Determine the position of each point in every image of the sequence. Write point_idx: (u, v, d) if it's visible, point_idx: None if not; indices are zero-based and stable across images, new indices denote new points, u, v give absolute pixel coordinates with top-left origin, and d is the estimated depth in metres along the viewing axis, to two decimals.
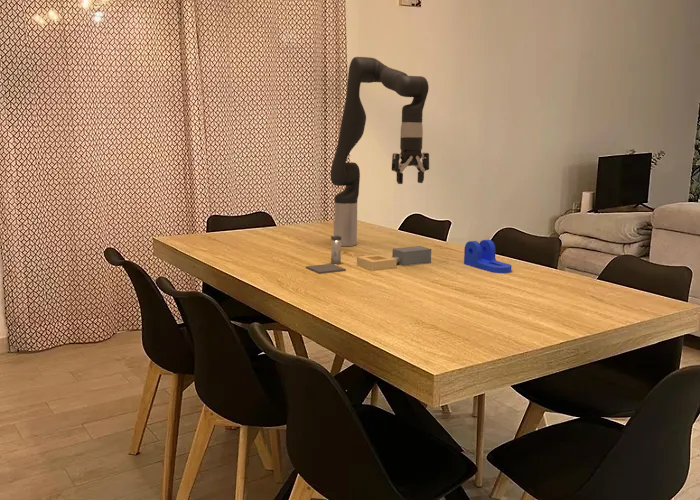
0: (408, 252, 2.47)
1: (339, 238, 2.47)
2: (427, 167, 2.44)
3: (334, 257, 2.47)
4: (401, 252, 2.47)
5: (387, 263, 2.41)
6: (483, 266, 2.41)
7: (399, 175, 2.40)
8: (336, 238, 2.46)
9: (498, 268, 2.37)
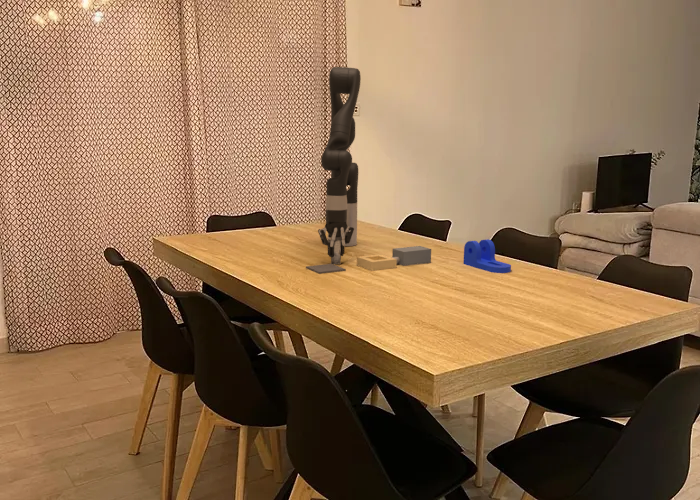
0: (408, 252, 2.47)
1: (339, 238, 2.47)
2: (347, 240, 2.49)
3: (334, 257, 2.47)
4: (401, 252, 2.47)
5: (387, 263, 2.41)
6: (483, 266, 2.41)
7: (330, 249, 2.46)
8: (336, 238, 2.46)
9: (497, 268, 2.37)
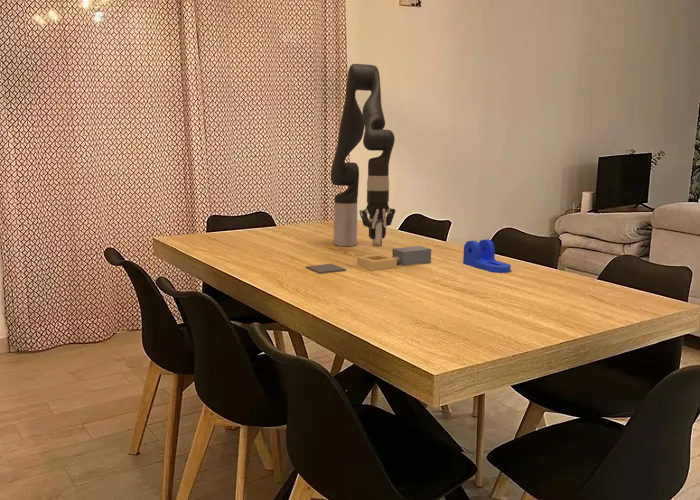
0: (408, 252, 2.47)
1: (381, 220, 2.41)
2: (389, 222, 2.43)
3: (375, 240, 2.41)
4: (401, 252, 2.47)
5: (387, 263, 2.41)
6: (483, 266, 2.42)
7: (371, 230, 2.40)
8: (378, 220, 2.40)
9: (497, 268, 2.37)
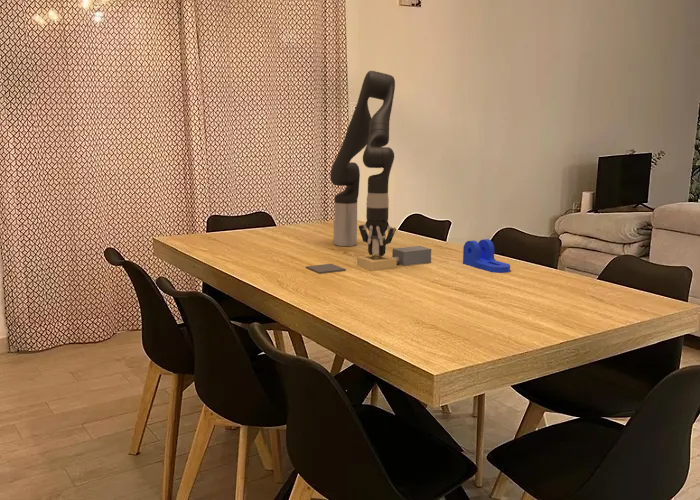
0: (408, 252, 2.47)
1: (376, 237, 2.41)
2: (385, 241, 2.40)
3: None
4: (401, 252, 2.47)
5: (387, 263, 2.41)
6: (482, 266, 2.42)
7: (368, 246, 2.44)
8: (373, 236, 2.42)
9: (497, 268, 2.37)
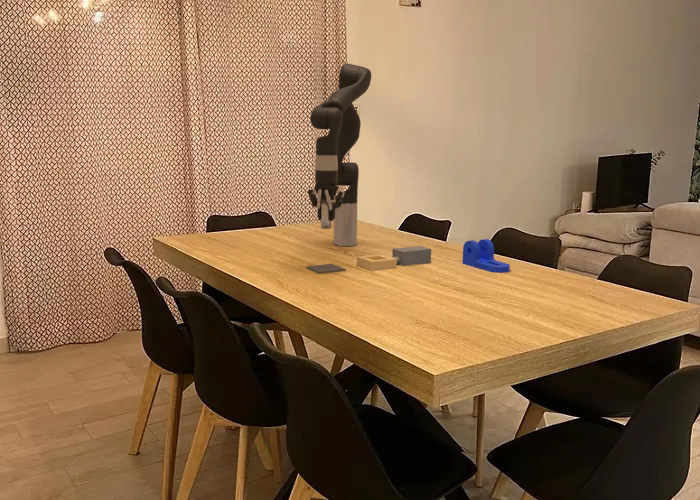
0: (408, 252, 2.47)
1: (325, 201, 2.33)
2: (334, 205, 2.32)
3: (321, 221, 2.36)
4: (401, 252, 2.47)
5: (387, 263, 2.41)
6: (482, 266, 2.42)
7: (318, 211, 2.36)
8: (322, 200, 2.34)
9: (496, 267, 2.37)
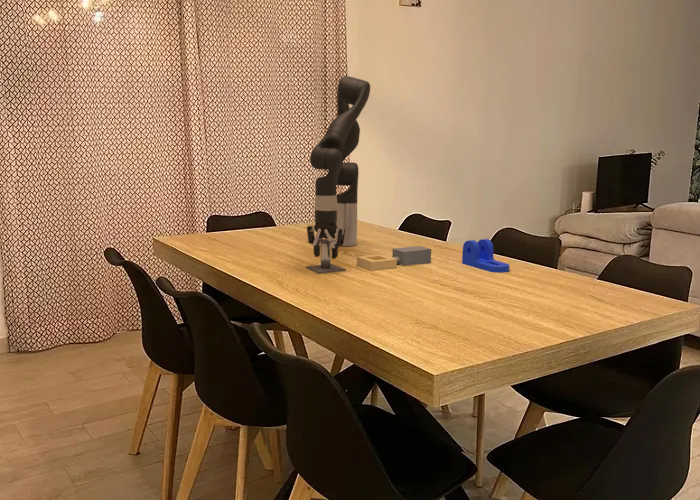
0: (408, 252, 2.47)
1: (325, 241, 2.36)
2: (337, 244, 2.34)
3: None
4: (401, 252, 2.47)
5: (387, 263, 2.41)
6: (481, 265, 2.42)
7: (314, 248, 2.39)
8: (322, 241, 2.36)
9: (496, 267, 2.38)
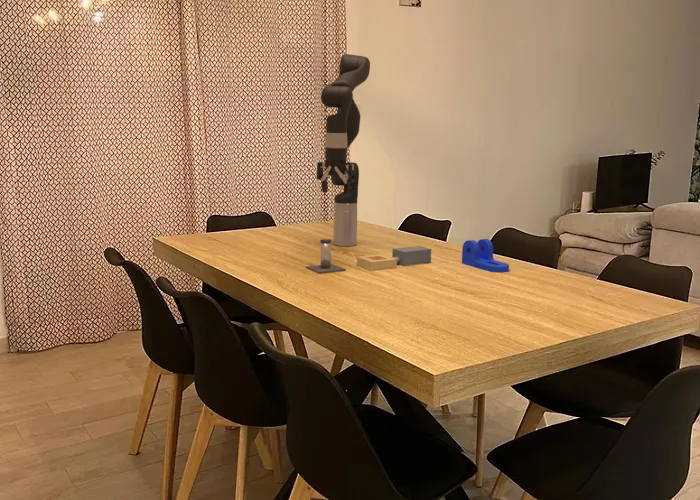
0: (408, 252, 2.47)
1: (325, 241, 2.36)
2: (349, 179, 2.38)
3: None
4: (401, 252, 2.47)
5: (387, 263, 2.41)
6: (481, 265, 2.42)
7: (322, 183, 2.45)
8: (322, 241, 2.36)
9: (496, 267, 2.38)
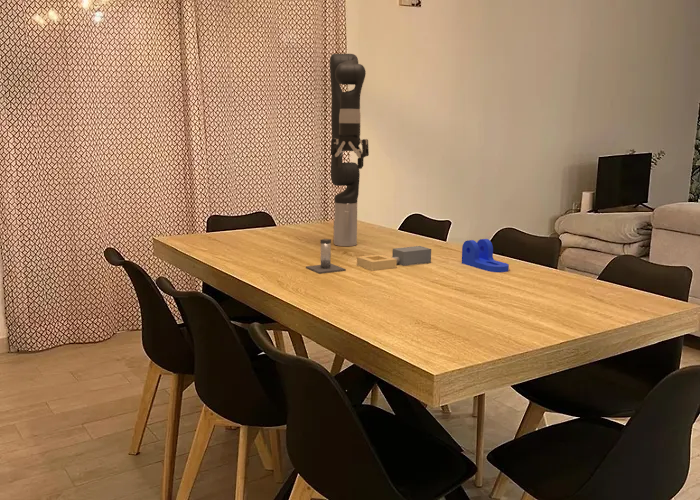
0: (408, 252, 2.47)
1: (325, 241, 2.36)
2: (363, 153, 2.46)
3: None
4: (401, 252, 2.47)
5: (387, 263, 2.41)
6: (481, 265, 2.42)
7: (336, 159, 2.52)
8: (322, 241, 2.36)
9: (495, 267, 2.38)
